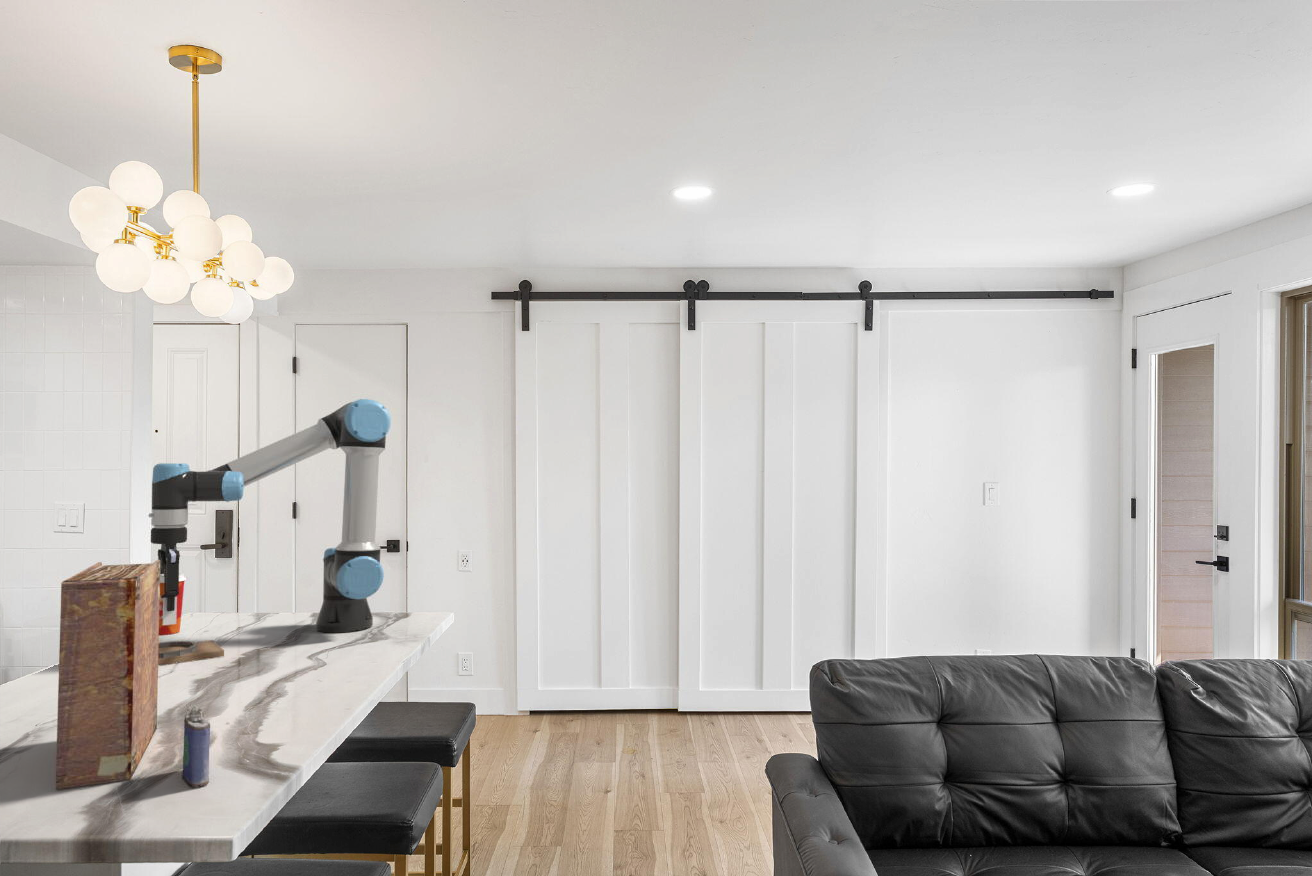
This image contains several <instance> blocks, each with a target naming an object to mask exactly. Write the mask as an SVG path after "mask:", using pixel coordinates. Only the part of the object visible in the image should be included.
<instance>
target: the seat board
mask: <svg viewBox="0 0 1312 876" xmlns="http://www.w3.org/2000/svg"><path fill="white" fill-rule="evenodd" d="M220 656H224V657H225V650H224V649H223V648H222V647H221V646H219V645H218V644H217V643H216V642H215V641H214V640H212V639H211V640H205V641H203V640H201V641H191V640H175V641H174V640H171V641H163V642H159V650H158V665H161V666H164V665H163V664H168V665H174V664H173V663H175V664H177V663H176V662H182V663H188V662H187V661H189V662H193V661H192V660H196V661H202V660H201V659H203V660H207V659H206V658H210V659H215V658H214V657H217V658H221V657H220Z"/></svg>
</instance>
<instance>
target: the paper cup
mask: <svg viewBox="0 0 1312 876" xmlns="http://www.w3.org/2000/svg"><path fill="white" fill-rule="evenodd" d="M185 580H187V579H186V577H185V573H180V572H179V595H177V614H176V624H171V625H162V624H163V598H161V595H164V594H165V593H164V583H165V581H164V574H160V606H159V637H160V636H170V635H175V634H178V633H180V631H181V630H180V629H181V621H182V611H183V604H184V603H183V602H184V590H185V589H184V588H185Z"/></svg>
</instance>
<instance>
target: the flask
mask: <svg viewBox="0 0 1312 876" xmlns="http://www.w3.org/2000/svg"><path fill="white" fill-rule="evenodd" d="M203 708H204V706H203V705H202V706H201V707H198V706H197V705H194V706H189V707H187V712H186V713H185V715H184V722H183V723H184V725H183V727H184V728H183V731H184V732H183V754H182V755H183V756H182V772H181V779H182V780H183V781H184V783H185V784H186V785H187V786H188V787H190V788H192V789H200V788H202V787H207V785H208V784H209V782H210V776H209V775H210V743H211V742H210V737H211V736H210V735H211V723H210V722H209V721H208V720H207V719H205V718H204V711H203Z"/></svg>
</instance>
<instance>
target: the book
mask: <svg viewBox="0 0 1312 876" xmlns="http://www.w3.org/2000/svg"><path fill="white" fill-rule="evenodd" d="M60 586H61V588H60V590H61V591H60V616H59V617H60V618H59V619H60V621H59V622H60V623H59V625H60V626H59V649H58V650H59V651H58V652H59V653H58V655H59V657H58V685H57V686H58V690H57V691H58V692H57V693H58V694H57V698H58V699H57V725H56V728H57V729H56V755H55V757H56V759H55V760H56V761H55V791H58V790H64V789H66V790H67V789H72V788H80V787H86V786H92V785H98V784H99V785H102V784H107V783H114V782H121V781H127V780H131V779H132V778H133V776H134V774H135V772H136V771H137V768H138V766H139V764H140V762H141V760H142V758H143V756H144V754H145V753H146V751H147V748H148V746H149V744H150V742H151V740H152V739H153V737H154V734H155V733H156V731H157V727H158V689H159V688H158V687H159V685H158V683H159V681H158V680H159V666H158V650H159V643H160V636H159V606H160V560H158V559H157V560H155V561H154V562H153V563H151V562H149V563H133V564H132V563H131V564H130V563H129V564H111V565H110V564H109V565H107V564H105V565H103V562H102V561H99V562H96V563H95V564H93V565H90V567H88V568H85V569H83V570H82V571H80V572H78V573H76V574H75V575H73V576H70V577H69V578H67V579H65V580H63V581H61V585H60Z"/></svg>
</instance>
